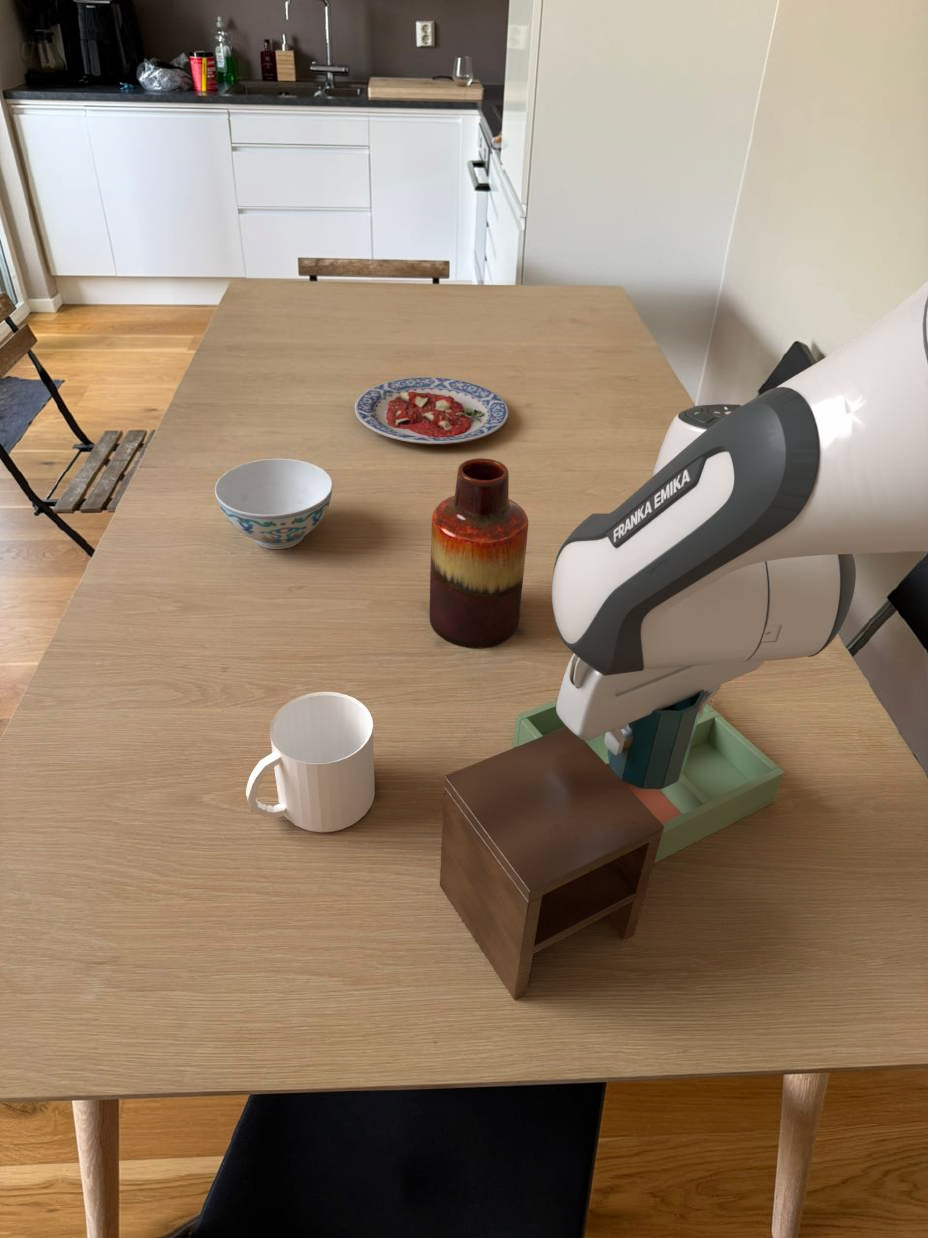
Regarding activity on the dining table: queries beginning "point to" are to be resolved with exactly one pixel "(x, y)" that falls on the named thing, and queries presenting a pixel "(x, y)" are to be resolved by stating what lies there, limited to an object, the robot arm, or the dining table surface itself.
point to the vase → (477, 558)
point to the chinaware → (275, 500)
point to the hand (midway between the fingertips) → (653, 732)
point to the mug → (319, 762)
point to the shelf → (543, 850)
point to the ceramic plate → (431, 410)
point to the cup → (659, 745)
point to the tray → (689, 777)
